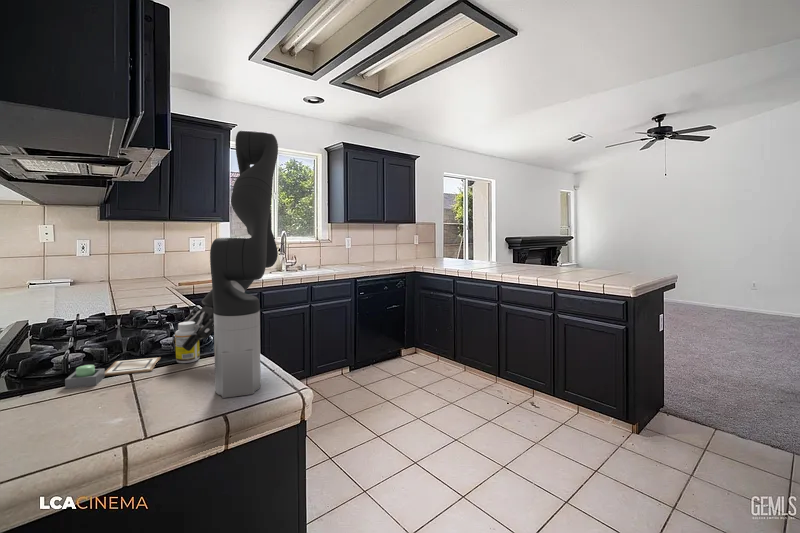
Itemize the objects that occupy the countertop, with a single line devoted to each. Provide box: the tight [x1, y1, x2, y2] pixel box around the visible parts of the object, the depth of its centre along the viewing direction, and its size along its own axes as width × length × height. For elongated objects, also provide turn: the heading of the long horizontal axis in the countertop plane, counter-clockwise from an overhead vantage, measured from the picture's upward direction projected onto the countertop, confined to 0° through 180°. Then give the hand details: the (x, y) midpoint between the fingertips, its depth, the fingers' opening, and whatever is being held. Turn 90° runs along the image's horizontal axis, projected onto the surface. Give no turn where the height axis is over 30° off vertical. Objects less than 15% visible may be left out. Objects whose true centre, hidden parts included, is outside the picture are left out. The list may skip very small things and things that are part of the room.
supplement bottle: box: [174, 321, 201, 364], centre depth 99 cm, size 6×6×10 cm
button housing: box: [64, 368, 106, 389], centre depth 83 cm, size 5×5×2 cm
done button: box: [75, 364, 96, 377], centre depth 83 cm, size 3×3×2 cm
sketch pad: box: [105, 356, 162, 377], centre depth 93 cm, size 10×10×1 cm
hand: (180, 346), depth 97 cm, fingers closed on supplement bottle, 5 cm apart
